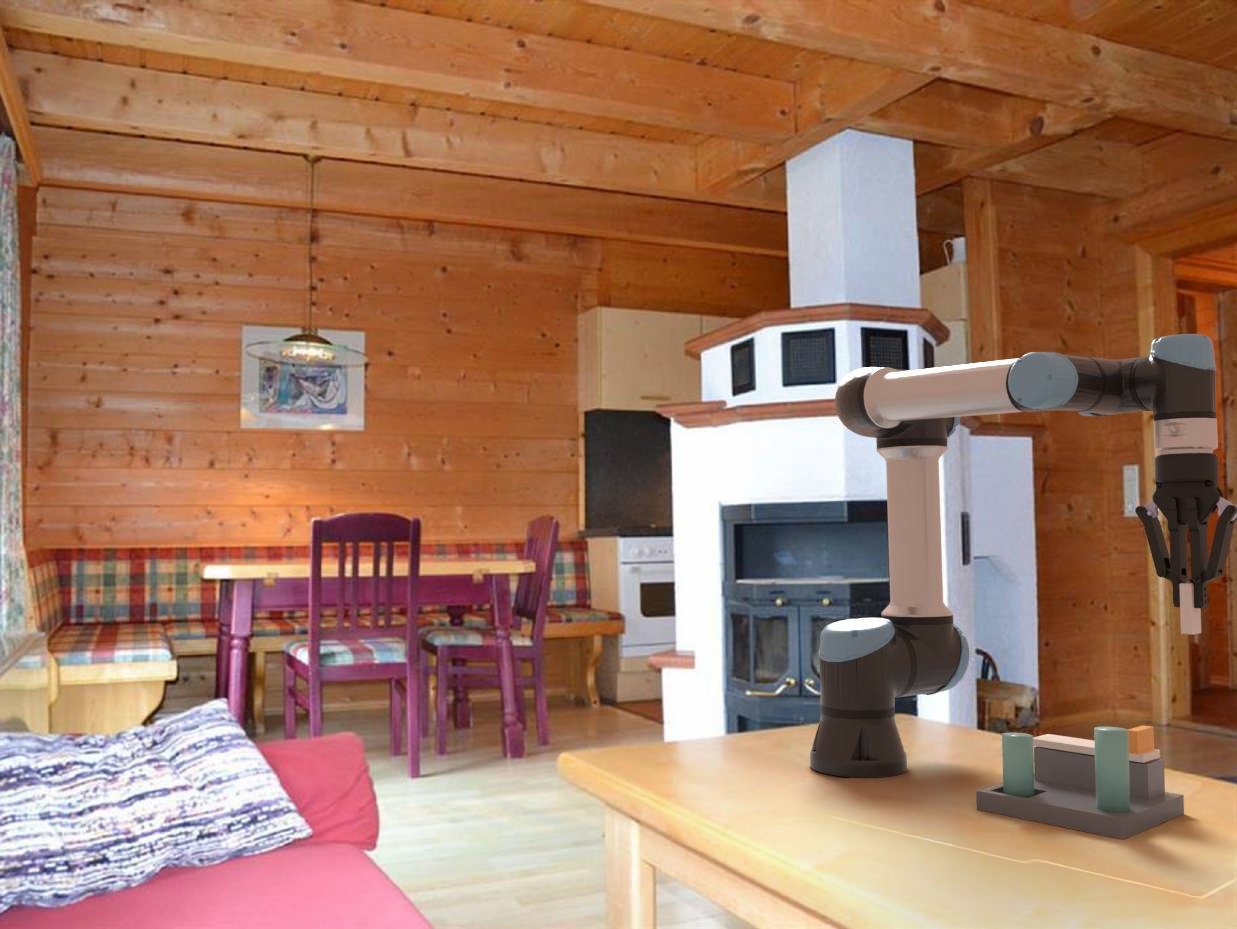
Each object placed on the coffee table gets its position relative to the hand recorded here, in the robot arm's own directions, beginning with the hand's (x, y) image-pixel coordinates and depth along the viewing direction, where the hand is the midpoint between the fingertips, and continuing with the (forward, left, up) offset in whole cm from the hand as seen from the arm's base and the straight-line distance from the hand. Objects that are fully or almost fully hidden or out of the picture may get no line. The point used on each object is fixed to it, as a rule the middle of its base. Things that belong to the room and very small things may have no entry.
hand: (1191, 633), depth 149 cm
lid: (-13, 0, -17) cm, 22 cm away
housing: (-13, -5, -24) cm, 28 cm away
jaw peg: (-19, -10, -24) cm, 33 cm away
